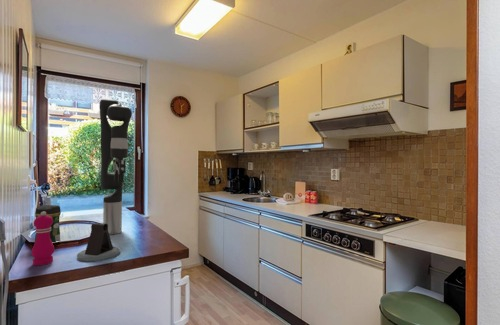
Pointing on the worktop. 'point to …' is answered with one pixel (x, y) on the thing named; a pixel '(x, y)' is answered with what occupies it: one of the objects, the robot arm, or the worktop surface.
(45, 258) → the pepper mill
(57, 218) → the coffee jar
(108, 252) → the dish
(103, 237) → the door stopper
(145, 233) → the worktop surface
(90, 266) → the worktop surface
